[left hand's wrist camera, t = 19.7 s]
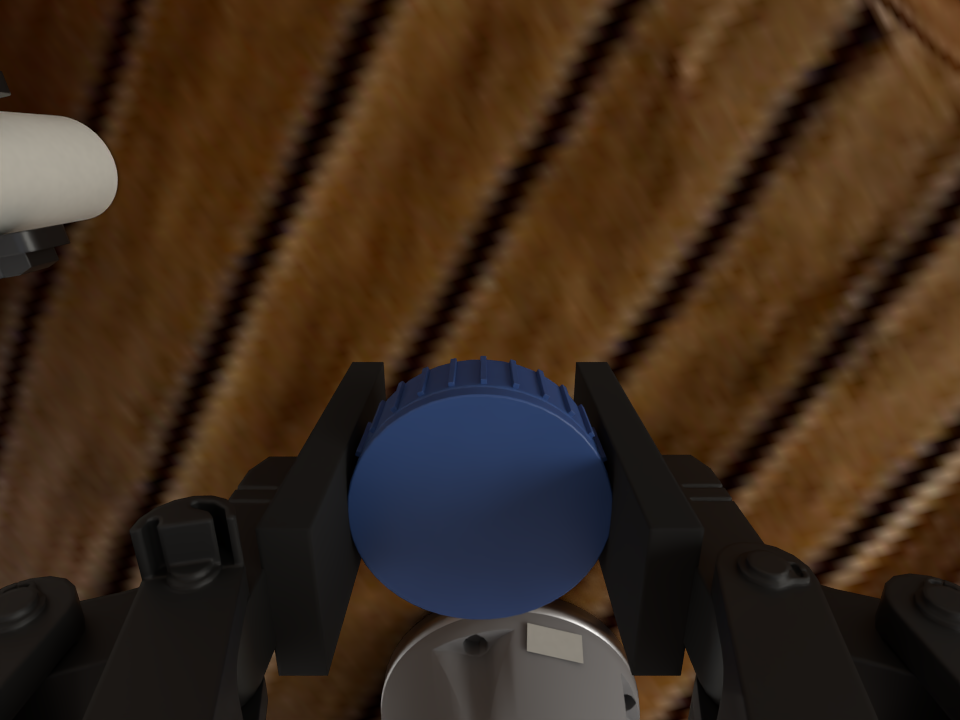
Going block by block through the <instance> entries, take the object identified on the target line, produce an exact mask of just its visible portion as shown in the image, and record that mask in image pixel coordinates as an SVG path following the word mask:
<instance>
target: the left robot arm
mask: <svg viewBox="0 0 960 720" xmlns="http://www.w3.org/2000/svg"><path fill="white" fill-rule="evenodd" d="M382 400H384V401H386V395H385V379H384V363H383V362H352V364H351V366H350V368H349V369H348V371H347V373H346V374H345V376H344V378H343V379H342V381H341V383H340V385H339V386H338V388H337V390H336V391H335V393H334V395H333V397H332V398H331V400H330V402H329V403H328V405H327V407H326V409H325V410H324V412H323V414H322V415H321V417H320V419H319V421H318V422H317V424H316V426H315V427H314V429H313V431H312V433H311V434H310V436H309V438H308V439H307V441H306V443H305V445H304V446H303V448H302V450H301V451H300V453H299V455H298V457H268V458H267V459H265V460H264V461H262V462H261V463H259V464H258V465H257V466H255V467H254V468H252V469H251V470H249V472H248V473H247V474H246V476H245V477H244V479H243V480H242V481H241V483H240V484H239V486H238V490H235V491H234V493H233V494H232V496H231V497H230V498H229V500H227V499H224V498H220V497H216V496H192V497H187V498H183V499H178V500H174V501H171V502H169V503H166V504H164V505H162V506H159V507H157V508H155V509H153V510H152V511H150V512H149V513H147V514H146V515H144V516H143V517H141V518H139V520H138V521H137V522H136V523H135V524H134V526H133V527H132V528H131V529H130V534H131V538H132V542H133V546H134V550H135V554H136V558H137V562H138V566H139V569H140V573H141V577H142V582H141V584H140V587H139V588H135V589H132V590H128V591H125V592H120V593H116V594H111V595H106V596H102V597H97V598H93V599H88V600H84V601H79V597H78V594H77V591H76V588H75V586H74V585H73V584H72V583H71V582H70V581H68V580H67V579H65V578H59V577H52V576H48V577H40V578H32V579H28V580H24V581H20V582H18V583H14V584H11V585H8V586H6V587H4V588H2V589H0V720H266V713H267V704H268V697H267V689H266V683H265V677H264V674H265V672H266V669H267V667H268V665H269V662H270V660H271V657H272V655H273V652H274V650H275V654H276V660H277V666H278V673H279V676H328V673H329V669H330V666H331V662H332V659H333V655H334V652H335V648H336V645H337V641H338V638H339V634H340V631H341V627H342V624H343V620H344V617H345V613H346V610H347V606H348V603H349V599H350V596H351V592H352V589H353V585H354V582H355V578H356V575H357V572H358V568H359V565H360V561H361V556H360V554H359V553H358V551H357V548H356V546H355V544H354V541H353V539H352V535H351V532H350V525H349V514H348V501H347V495H348V490H349V485H350V480H351V477H352V474H353V472H354V469H355V466H356V464H357V461H358V459H359V457H358V456H355V453H356V451H357V448H358V446H359V443H360V441H361V438H362V436H363V434H364V431H365V429H366V426H367V424H368V422H371V423H372V422H373V419H374V417H375V414H376V411H377V409H378V406H379V404H380V402H381V401H382ZM574 402H575V403H576V405H577V406H579V405H580V404H582V406H583V407H584V409H585V412H586V414H587V417H588V419H589V422H590V424H591V427H594V428H595V430H596V433H597V435H598V438H599V440H600V443H601V445H602V448H603V450H604V453H605V455H606V458H607V461H606V462H603V463H604V466H605V468H606V471H607V473H608V476H609V479H610V483H611V488H612V492H613V498H612V511H611V521H610V531H609V537H608V539H607V542H606V544H605V547H604V549H603V551H602V553H601V555H600V556H599V558H598V559H599V562H600V566H601V569H602V573H603V576H604V580H605V583H606V587H607V590H608V594H609V597H610V601H611V604H612V608H613V611H614V615H615V618H616V622H617V625H618V629H619V632H620V636H621V639H622V643H623V646H624V648H623V646H622V644H621V643H620V641H619V640H618V639H617V637H616V636H615V635H614V634H613V633H612V631H611V630H610V629H609V628H608V627H607V626H606V625H604V624H603V623H602V622H601V621H600V620H598V619H597V618H596V617H594V616H593V615H591V614H590V613H588V612H586V611H585V610H583V609H581V608H579V607H577V606H575V605H573V604H570V603H568V602H565V601H562V600H559V599H556V600H554V601H552V602H551V603H549V604H547V605H544V606H542V607H540V608H538V609H535V610H532V611H529V612H526V613H523V614H520V615H515V616H511V617H506V618H498V619H481V620H473V619H462V618H455V617H450V616H445V615H440V614H437V613H434V612H433V613H432V614H430V615H428V616H427V617H425V618H424V619H423V620H421V621H420V622H419V623H417V624H416V625H415V626H414V627H413V628H412V629H411V630H410V631H409V632H408V633H407V634H406V635H405V636H404V637H403V638H402V640H401V641H400V642H399V644H398V645H397V647H396V648H395V650H394V652H393V654H392V656H391V658H390V661H389V663H388V666H387V670H386V675H385V680H384V686H383V692H382V699H381V720H640V709H639V699H638V690H637V686H636V682H635V678H634V676H681V670H682V664H683V658H684V652H685V648H686V650H687V653H688V655H689V658H690V660H691V663H692V665H693V667H694V670H695V672H696V677H695V683H694V689H693V694H692V700H691V706H690V711H689V717H688V720H960V586H958V585H956V584H954V583H951V582H949V581H946V580H941V579H939V578H935V577H932V576H925V575H917V574H904V575H898V576H893V577H892V578H891V579H890V580H889V581H888V582H886V583H885V586H884V589H883V592H882V596H881V599H879V598H874V597H870V596H865V595H860V594H856V593H851V592H847V591H842V590H837V589H834V588H830V587H827V586H823V585H820V583H819V581H818V579H817V578H816V576H815V575H814V573H813V572H812V571H811V569H810V568H809V567H808V566H807V565H806V564H804V563H803V562H802V561H800V560H799V559H798V558H797V557H795V556H794V555H792V554H790V553H788V552H785V551H783V550H781V549H779V548H777V547H774V546H770V545H766V544H764V543H763V541H762V540H761V539H760V537H759V536H758V534H757V533H756V531H755V530H754V529H753V527H752V526H751V524H750V523H749V522H748V520H747V519H746V517H745V516H744V515H743V513H742V512H741V510H740V509H739V508H738V506H737V505H736V503H735V502H734V501H732V498H731V496H730V495H729V494H728V492H727V491H726V489H725V488H722V484H721V482H720V481H719V480H718V478H717V477H716V475H715V474H714V473H713V471H712V470H711V468H709V467H708V466H706V465H705V464H703V463H702V462H700V461H699V460H697V459H696V458H694V457H693V456H691V455H661V454H660V452H659V450H658V449H657V447H656V445H655V443H654V442H653V440H652V438H651V437H650V435H649V433H648V432H647V430H646V428H645V426H644V425H643V423H642V421H641V420H640V418H639V416H638V414H637V413H636V411H635V409H634V408H633V406H632V404H631V402H630V401H629V399H628V397H627V396H626V394H625V392H624V390H623V389H622V387H621V385H620V384H619V382H618V380H617V378H616V377H615V375H614V373H613V372H612V370H611V368H610V366H609V365H608V363H607V362H576V373H575V389H574Z"/></svg>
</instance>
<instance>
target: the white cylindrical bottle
mask: <svg viewBox="0 0 960 720" xmlns="http://www.w3.org/2000/svg"><path fill="white" fill-rule="evenodd" d="M117 184H118V177H117V170H116V165H115V162H114V159H113V157H112V155H111V153H110V151H109V149H108V148H107V146H106V145H105V143H104V142H103V141H102V140H101V139H100V137H99V136H98V135H97V134H96V133H94V132H93V131H92V130H91V129H90V128H88V127H87V126H85V125H84V124H82V123H80V122H78V121H76V120H73V119H71V118H67V117H63V116H54V115H41V114H28V113H16V112H3V111H0V235H2V234H8V233H13V232H19V231H25V230H31V229H37V228H42V227H48V226H53V225H59V224H64V223H70V222H76V221H81V220H87V219H91V218H94V217H96V216H98V215H100V214H101V213H103V212H104V211H105V210H106V209H107V208H108V207H109V206H110V204H111V203H112V201H113V199H114V197H115V194H116V191H117Z"/></svg>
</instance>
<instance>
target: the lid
mask: <svg viewBox="0 0 960 720" xmlns="http://www.w3.org/2000/svg"><path fill="white" fill-rule="evenodd" d="M355 456H358V457H359V459H358V461H357V464H356V466H355V469H354V472H353V474H352V477H351V480H350V485H349V490H348V495H347V501H348V514H349V525H350V532H351V535H352V539H353V541H354V544H355V546H356V548H357V551H358V553H359V554H360V556H361V558H362V559H363V561H364V563H365V564H366V566H367V567H368V568H369V569H370V571H371V572H372V573H373V574H374V575H375V577H376V578H377V579H378V580H379V581H381V582H382V583H383V584H384V585H385V586H386V587H387V588H388V589H390V590H391V591H392V592H394V593H395V594H396V595H398V596H399V597H401V598H403V599H404V600H406V601H408V602H410V603H411V604H413V605H416V606H418V607H420V608H423V609H425V610H428V611H431V612H434V613H437V614H440V615H445V616H450V617H455V618H462V619H473V620H481V619H498V618H506V617H511V616H515V615H520V614H523V613H526V612H529V611H532V610H535V609H538V608H540V607H542V606H544V605H547V604H549V603H551V602H552V601H554V600H556V599H557V598H559V597H561V596H562V595H564V594H565V593H567V592H568V591H569V590H571V589H572V588H573V587H574V586H576V585H577V584H578V583H579V582H580V581H581V580H582V579H583V578H584V577H585V576H586V575H587V574H588V572H589V571H590V570H591V568H592V567H593V566H594V565H595V563H596V562H597V560H598V558H599V556H600V555H601V553H602V551H603V549H604V547H605V544H606V542H607V539H608V537H609V531H610V521H611V511H612V498H613V492H612V488H611V483H610V479H609V476H608V473H607V471H606V468H605V466H604V463H603V462H606V461H607V458H606V455H605V453H604V450H603V448H602V445H601V443H600V440H599V438H598V435H597V433H596V430H595V428H594V427H591V424H590V422H589V419H588V417H587V414H586V412H585V409H584V407H583V406H582V404H580V405H579V406H577V405H576V403H575V402H574V401H573V400H572V398H571V397H570V396H569V395H568V392H567V389H566V387H565V386H564V385H561V386H560V387H559V386H557V385H556V384H555V383H553V382H552V381H550V380H549V379H548V378H546V377H544V374H543V371H541V370H539V369H538V370H537V372H535V371H532V370H530V369H527V368H524V367H522V366H519V365H516V361H515V360H510V362H509V363H507V362H502V361H493V360H486V356H481V357H480V360H467V361H459V362H457V360H456V358H455V359H451V362H450V363H449V364H445V365H442V366H438V367H436V368H433V369H431V370H429V368H428V367H426V368H423V371H422V374H420V375H418V376H416V377H415V378H413V379H411V380H410V381H408V382H407V383H406V384H405V383H404V382H403V381H402V382H400V383H399V385H398V388H397V391H396V392H395V393H394V394H393V395H392V396H391V397H390V398H389V399H388V400H387V401H384V400H382V401H381V402H380V404H379V406H378V409H377V411H376V414H375V417H374V419H373V422H372V423H371V422H368V424H367V426H366V429H365V431H364V434H363V436H362V438H361V441H360V443H359V446H358V448H357V451H356V453H355Z"/></svg>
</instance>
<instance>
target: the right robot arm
mask: <svg viewBox="0 0 960 720" xmlns="http://www.w3.org/2000/svg"><path fill="white" fill-rule="evenodd" d="M9 95H11V93H10V91H9V88H8V86H7V83H6V81H5V78H4V76H3V73H2V71H0V98H1V97H6V96H9ZM69 243H70V241H69V238H68V236H67V233H66V231H65V228H64V226H63V224H60V225H54V226H48V227H43V228H37V229H31V230H25V231H19V232H13V233H8V234H2V235H0V278H6V277H12V276H18V275H22V274H26V273H30V272H33V271H37V270H40V269H44V268H48V267H50V266H51V265H52V264H54V263H55V262H57V261H58V260H59V258H58V256H57V253H56V251H55V248H54V247H56V246H60V245H64V244H69Z"/></svg>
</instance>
